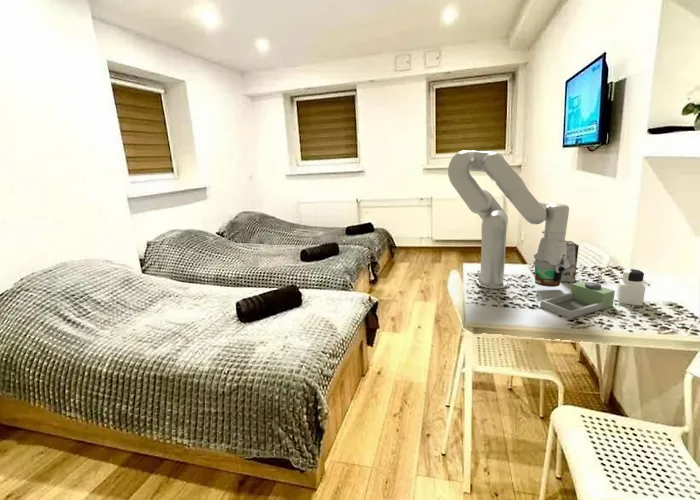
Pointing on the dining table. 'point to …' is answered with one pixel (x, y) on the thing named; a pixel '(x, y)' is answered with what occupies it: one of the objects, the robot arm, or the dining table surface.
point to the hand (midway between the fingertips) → (548, 278)
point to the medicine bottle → (631, 287)
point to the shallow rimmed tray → (580, 300)
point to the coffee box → (570, 262)
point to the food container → (545, 274)
